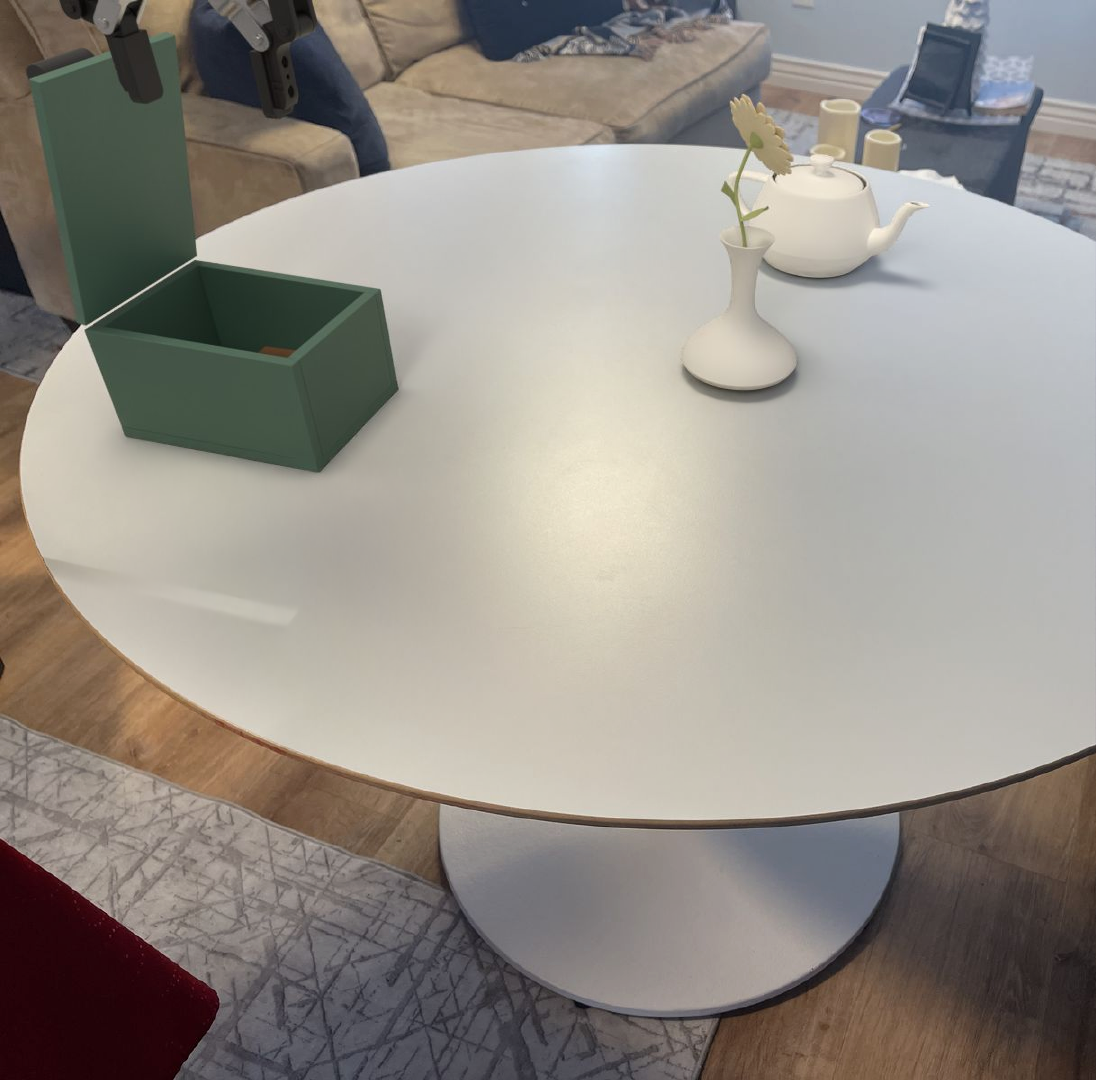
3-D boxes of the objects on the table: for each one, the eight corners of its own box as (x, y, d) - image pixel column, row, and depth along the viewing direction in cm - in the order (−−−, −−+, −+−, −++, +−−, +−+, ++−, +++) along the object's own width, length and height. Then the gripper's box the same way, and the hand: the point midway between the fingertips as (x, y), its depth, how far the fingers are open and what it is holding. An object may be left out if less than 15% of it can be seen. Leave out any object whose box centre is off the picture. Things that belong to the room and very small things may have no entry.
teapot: (694, 258, 119) (697, 153, 111) (754, 217, 129) (761, 119, 122) (890, 313, 110) (909, 203, 102) (937, 264, 121) (957, 162, 113)
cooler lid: (175, 35, 77) (113, 12, 77) (39, 82, 66) (-33, 57, 66) (197, 256, 89) (143, 236, 89) (86, 326, 78) (25, 304, 78)
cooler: (398, 388, 93) (381, 288, 87) (318, 472, 82) (291, 365, 76) (224, 358, 95) (194, 259, 89) (125, 436, 85) (83, 329, 78)
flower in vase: (807, 398, 95) (841, 127, 79) (689, 405, 93) (699, 128, 77) (776, 333, 105) (801, 81, 89) (669, 338, 103) (674, 80, 87)
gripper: (297, -227, 51) (354, 103, 62) (48, -246, 53) (144, 79, 63) (213, -222, 46) (291, 141, 56) (-63, -243, 47) (62, 113, 58)
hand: (213, 107), depth 60 cm, fingers open, 8 cm apart
